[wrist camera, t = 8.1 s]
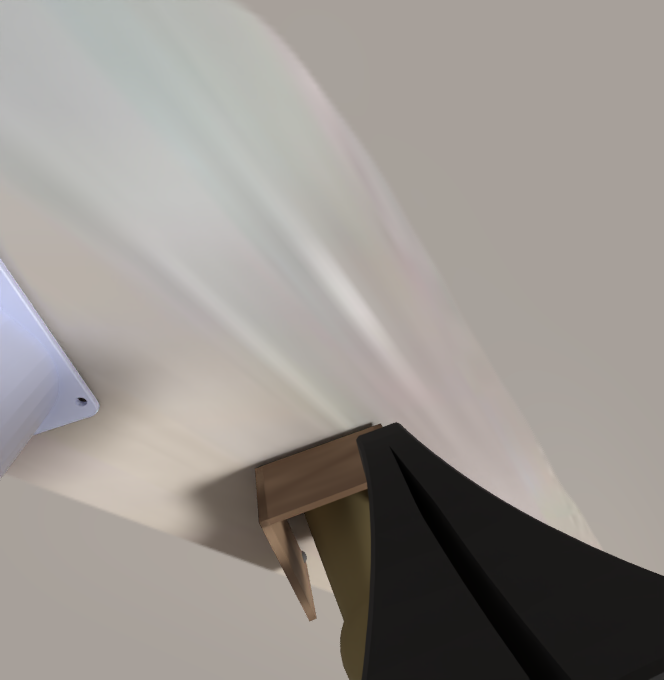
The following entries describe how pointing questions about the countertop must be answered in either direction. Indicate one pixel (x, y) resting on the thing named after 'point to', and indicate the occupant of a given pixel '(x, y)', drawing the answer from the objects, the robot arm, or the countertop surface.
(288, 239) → the countertop surface
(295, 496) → the wooden bracket shelf
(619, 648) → the robot arm
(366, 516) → the cork
